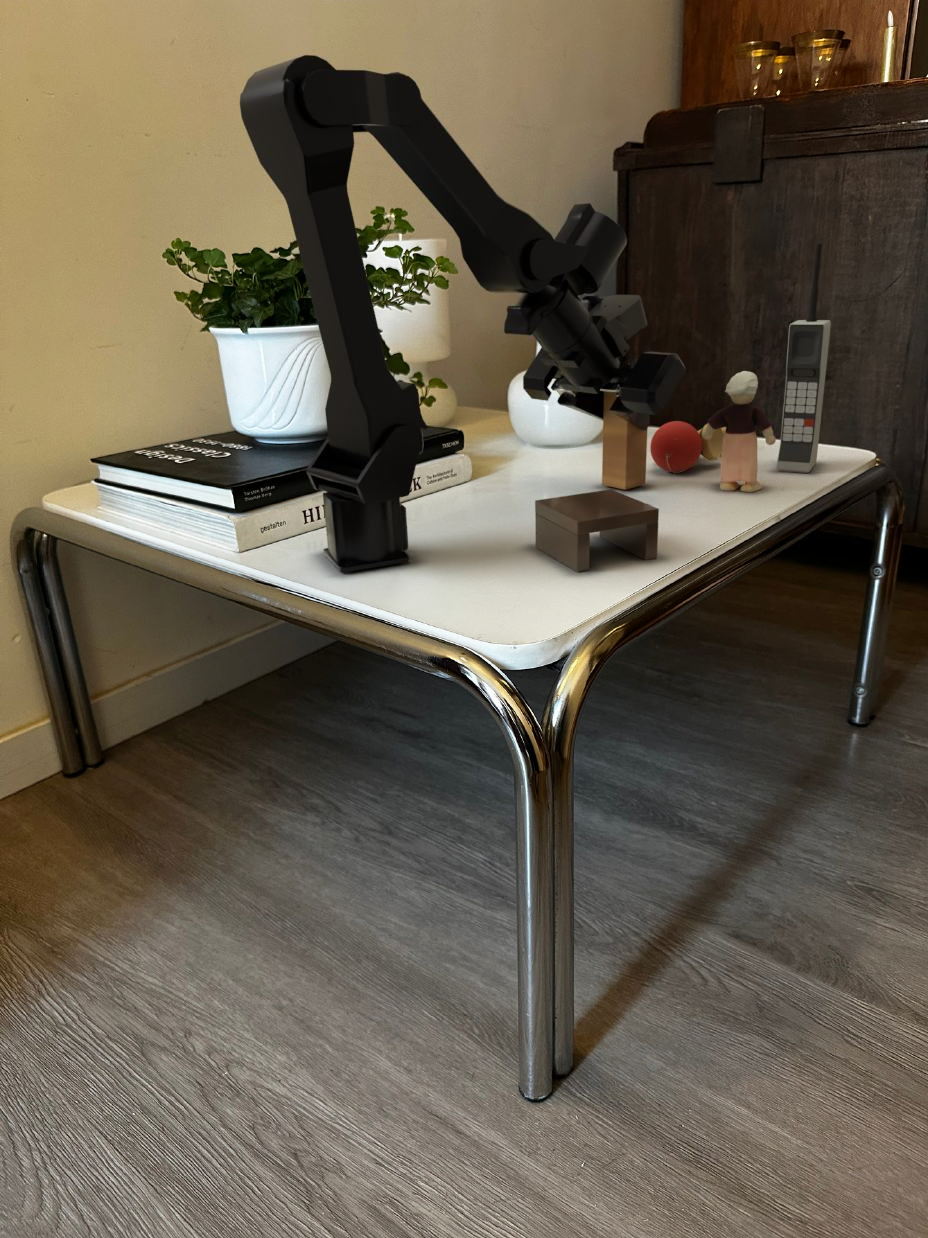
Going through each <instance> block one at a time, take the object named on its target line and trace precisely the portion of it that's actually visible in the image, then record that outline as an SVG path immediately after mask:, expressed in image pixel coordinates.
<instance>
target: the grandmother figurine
mask: <svg viewBox="0 0 928 1238" xmlns="http://www.w3.org/2000/svg"><path fill="white" fill-rule="evenodd" d="M758 385H759V380H758V377H757V374H756V373H754V372H751V371H747V370H742V371H741V372H737V373H735V375H733V376H732V377H731V378H730V379H729V382H728V383H727V384H726V387H725V390H724V393H726V394H727V395H728V396H730V400H731V401H732V402H733V405H728V406H724V407H723V408H721V409H719V410H718V411H716V412H714V414H713V415H712V416H710V418H708V419H707V423H706V424H707V426H706V430H705V431H704V432H703V434H702V436H703V438H704V439H710V438H711V437H712V433H713V432H714V431H715V430H716V429H719V428H723V427H726V431H725V433H724V437H723V444H722V453H721V455H720V467H721V468H720V480H721V481H722V482H721V483H720V484H719V488H720V490H722V491H732V492H733V491H736V489H738V488H739V483H738V482H744V483H743V485H741V487H740V491H741V492H748V493H752V492H753V493H754V492H756V491H759V490H761V489H762V487H763V486H762V484H761V482H760V481H758V435H757V433H756V427H757V428H758V429H759V430H760V432H761V433H762V435H763V437H764V438H765V443H766V445H769V446H772V445H774V444H776V441H777V438H776V436H775V435H774V430H773V427H772V423H771V422H770V420H769V419H768V416H767V415H766V414H765V412H763V410H761V409H760V408H759V407H757V406H754V405H751V404H750V403H752V402H753V400H754V399H755V396H756V394H757V389H758V388H759V387H758ZM749 404H750V405H749Z"/></svg>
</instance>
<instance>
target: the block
mask: <svg viewBox="0 0 928 1238" xmlns="http://www.w3.org/2000/svg"><path fill="white" fill-rule="evenodd" d="M617 392H618V391H617ZM617 392H608V391H604V411H603V421H602V462H601V463H602V466H601V467H602V468H601V470H602V472H601V486H605V487H610V488H616V489H620V490H624V491H625V490H630V489H634V488H638V487H640V486H644V485H646V477H647V451H648V450H647V449H648V429H647V430H642V429H640V428H638V427H636V426H634V425H632V424H631V423H629V422H627V421H625V420H624V419H622V418H620V417H619V416H617V415H615V414H613V413H612V412H610V411H609V409H610V408H611V406H612V404H613V403H614V401H615V399H616V398H617V395H616V393H617Z"/></svg>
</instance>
